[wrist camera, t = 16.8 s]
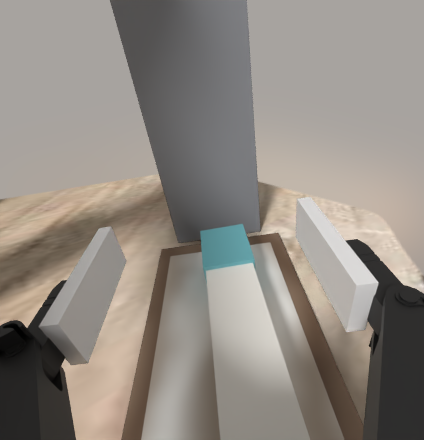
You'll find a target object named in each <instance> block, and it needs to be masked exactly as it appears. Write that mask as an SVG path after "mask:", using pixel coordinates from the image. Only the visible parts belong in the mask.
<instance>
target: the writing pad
mask: <svg viewBox="0 0 424 440" xmlns="http://www.w3.org/2000/svg"><path fill="white" fill-rule="evenodd" d="M247 238H248V241H249V244H250V247H251V250H252V253H253V256H254V259H255V270H256V274H257V277H258V280H259V283H260V287H261V290H262V293H263V296H264V299H265V302H266V305H267V308H268V311H269V314H270V317H271V320H272V323H273V327H274V330H275V333H276V336H277V339H278V342H279V345H280V348H281V351H282V354H283V357H284V360H285V363H286V367H287V370H288V373H289V376H290V379H291V382H292V385H293V388H294V391H295V394H296V397H297V400H298V403H299V407H300V410H301V413H302V416H303V419H304V422H305V425H306V428H307V431H308V434H309V437H310V440H363V429H364V426H363V424H362V422H361V419H360V417H359V415H358V413H357V410H356V408H355V406H354V404H353V401H352V399H351V397H350V395H349V392H348V390H347V388H346V385H345V383H344V381H343V379H342V376H341V374H340V372H339V370H338V367H337V365H336V363H335V361H334V358H333V356H332V354H331V352H330V349H329V347H328V345H327V342H326V340H325V338H324V336H323V333H322V331H321V329H320V327H319V324H318V322H317V320H316V318H315V315H314V313H313V311H312V309H311V306H310V304H309V302H308V300H307V297H306V295H305V293H304V290H303V288H302V286H301V284H300V281H299V279H298V277H297V275H296V272H295V270H294V268H293V266H292V263H291V261H290V259H289V257H288V254H287V252H286V250H285V247H284V245H283V243H282V241H281V238H280V236H279V234H278V233H274V234H267V235H260V236H252V237H247ZM121 440H220V430H219V418H218V406H217V395H216V383H215V372H214V360H213V348H212V337H211V325H210V314H209V302H208V290H207V283H206V279H205V275H204V270H203V262H202V248H201V244H196V245H189V246H182V247H175V248H168V249H162V251H161V255H160V260H159V265H158V270H157V274H156V279H155V284H154V288H153V293H152V298H151V302H150V307H149V312H148V317H147V321H146V326H145V331H144V335H143V340H142V345H141V349H140V354H139V359H138V364H137V368H136V373H135V378H134V382H133V387H132V392H131V396H130V401H129V406H128V411H127V415H126V420H125V425H124V429H123V434H122V439H121Z"/></svg>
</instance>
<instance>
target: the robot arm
mask: <svg viewBox="0 0 424 440" xmlns="http://www.w3.org/2000/svg"><path fill="white" fill-rule="evenodd" d="M296 239H297V240H298V242H299V244H300V246H301V248H302V250H303V252H304V254H305V255H306V257H307V259H308V261H309V263H310V265H311V267H312V269H313V270H314V272H315V274H316V276H317V278H318V280H319V282H320V284H321V285H322V287H323V289H324V291H325V293H326V295H327V297H328V299H329V301H330V302H331V304H332V306H333V308H334V310H335V312H336V314H337V316H338V317H339V319H340V321H341V323H342V325H343V327H344V329H345V331H346V332H351V331H360V330H365V329H366V326H367V322H369V323H370V325H371V326H372V328H373V330H374V331H373V335H372V338H371V341H370V344H369V347H371V354H370V365H369V376H368V386H367V397H366V408H365V418H364V429H363V440H424V294H423V293H422V292H420V291H418V290H417V289H415V288H412V287H409V286H404V285H403V284H402V283H401V282H400V281H399V280H398V279H397V278H396V276H395V275H394V274H393V273H392V272H391V271H390V270H389V269H388V267H387V266H386V265H385V264H384V263H383V262H382V261H380V259H379V257H378V256H377V255H375V254H374V252H373V251H372V250H371V249H370V247H369V246H368V245H366V244H365V243H363V242H361V241H359V240H358V239H354V240H347V241H345V240H344V238H343V237H342V236H341V235H340V233H339V232H338V231H337V230H336V228H335V227H334V226H333V225H332V223H331V222H330V221H329V220H328V218H327V217H326V216H325V215H324V213H323V212H322V211H321V210H320V208H319V207H318V206H317V205H316V203H315V202H314V201H313V200H312V198H311V197H306V198H299V199H297V212H296ZM125 264H126V259H125V256H124V254H123V252H122V250H121V247H120V245H119V243H118V240H117V238H116V236H115V234H114V231H113V229H112V227H104V228H99V229H98V231H97V232H96V234H95V236H94V237H93V239H92V240H91V242H90V244H89V245H88V247H87V249H86V250H85V252H84V253H83V255H82V257H81V258H80V260H79V262H78V263H77V265H76V267H75V268H74V270H73V271H72V273H71V275H70V276H69V278H68V280H64V281H61V282H60V283H59V284H58V285H57V286H56V287H55V288H53V290H52V291H51V293H50V294H49V296H48V297H47V300H45V302H44V303H43V305H42V307H41V308H40V310H39V311H38V313H37V314H36V316H35V317H34V319H33V320H32V322H31V323H30V325H29V326H28V328H26V327H25V325H24V324H23V323H22V322H20V321H18V320H15V321H9V322H7V323H4V324H2V325H1V326H0V440H76V437H75V431H74V425H73V419H72V413H71V407H70V401H69V395H68V389H67V383H66V377H65V372H64V370H63V368H62V367H61V365H62V363H63V361H64V359H66V360H67V361H68V362H69V363H70V365H77V364H85V363H88V362H89V359H90V357H91V354H92V351H93V349H94V346H95V343H96V341H97V338H98V335H99V333H100V330H101V327H102V325H103V322H104V319H105V317H106V314H107V311H108V309H109V306H110V303H111V301H112V298H113V295H114V293H115V290H116V288H117V285H118V282H119V280H120V277H121V274H122V272H123V269H124V266H125Z"/></svg>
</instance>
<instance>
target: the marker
mask: <svg viewBox="0 0 424 440" xmlns="http://www.w3.org/2000/svg"><path fill="white" fill-rule="evenodd" d="M200 235H201V248H202V262H203V270H204V275H205V279H206V283H207V290H208V302H209V314H210V325H211V337H212V348H213V360H214V372H215V383H216V395H217V406H218V418H219V430H220V440H310V437H309V434H308V431H307V428H306V425H305V422H304V419H303V416H302V413H301V410H300V407H299V403H298V400H297V397H296V394H295V391H294V388H293V385H292V382H291V379H290V376H289V373H288V370H287V367H286V363H285V360H284V357H283V354H282V351H281V348H280V345H279V342H278V339H277V336H276V333H275V330H274V327H273V323H272V320H271V317H270V314H269V311H268V308H267V305H266V302H265V299H264V296H263V293H262V290H261V287H260V283H259V280H258V277H257V274H256V270H255V259H254V256H253V253H252V250H251V247H250V244H249V241H248V238H247V235H246V232H245V229H244V226H243V224H238V225H233V226H227V227H221V228H215V229H209V230H204V231H200Z"/></svg>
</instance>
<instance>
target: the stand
mask: <svg viewBox="0 0 424 440" xmlns="http://www.w3.org/2000/svg"><path fill="white" fill-rule="evenodd" d="M110 2H111V6H112V9H113V13H114V16H115V20H116V23H117V27H118V30H119V34H120V38H121V41H122V45H123V48H124V52H125V55H126V59H127V62H128V66H129V69H130V73H131V77H132V80H133V84H134V87H135V91H136V94H137V97H138V101H139V105H140V109H141V112H142V116H143V119H144V122H145V126H146V130H147V133H148V137H149V140H150V144H151V148H152V151H153V154H154V158H155V162H156V165H157V169H158V172H159V176H160V179H161V183H162V187H163V190H164V194H165V197H166V201H167V204H168V208H169V211H170V215H171V218H172V222H173V226H174V229H175V233H176V236H177V240H178V243H183V242H190V241H196V240H201V235H200V231H204V230H209V229H215V228H221V227H227V226H233V225H238V224H243V226H244V229H245V232H246V233H252V232H259V231H261V230H260V214H259V197H258V180H257V164H256V147H255V131H254V114H253V99H252V98H253V97H252V81H251V65H250V64H251V63H250V47H249V30H248V13H247V0H110Z"/></svg>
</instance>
